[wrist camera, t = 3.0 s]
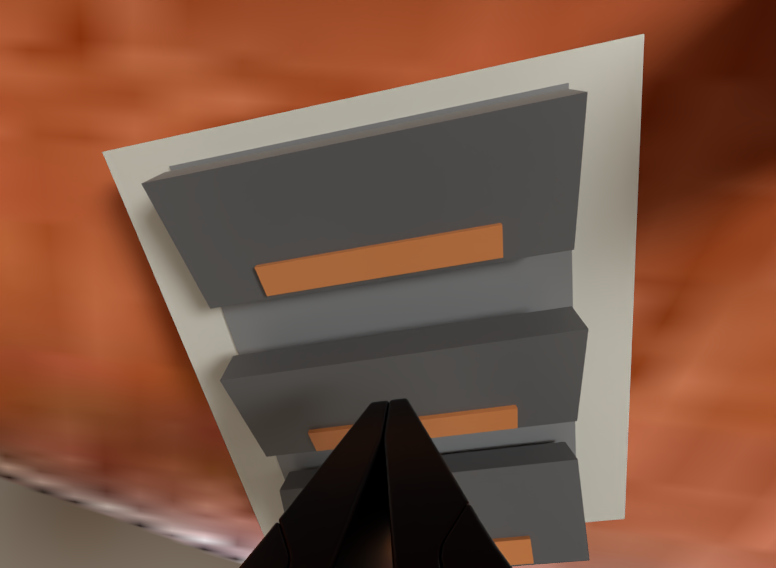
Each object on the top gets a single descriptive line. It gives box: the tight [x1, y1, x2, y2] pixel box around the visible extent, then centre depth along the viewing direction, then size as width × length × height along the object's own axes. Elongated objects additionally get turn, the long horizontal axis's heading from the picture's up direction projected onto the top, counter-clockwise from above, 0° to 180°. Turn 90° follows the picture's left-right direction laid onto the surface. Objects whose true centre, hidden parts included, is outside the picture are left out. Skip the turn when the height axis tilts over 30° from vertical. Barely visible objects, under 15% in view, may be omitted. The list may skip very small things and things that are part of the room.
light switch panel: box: [102, 34, 644, 536], centre depth 15 cm, size 21×16×3 cm
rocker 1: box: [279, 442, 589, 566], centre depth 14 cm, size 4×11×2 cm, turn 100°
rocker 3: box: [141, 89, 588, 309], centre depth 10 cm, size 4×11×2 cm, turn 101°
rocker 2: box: [220, 306, 589, 457], centre depth 12 cm, size 4×11×2 cm, turn 101°
